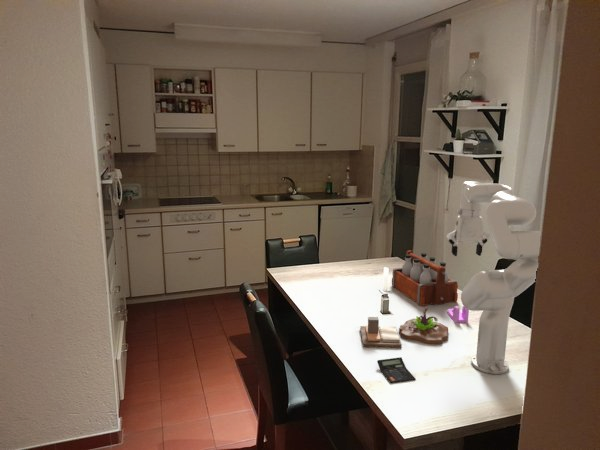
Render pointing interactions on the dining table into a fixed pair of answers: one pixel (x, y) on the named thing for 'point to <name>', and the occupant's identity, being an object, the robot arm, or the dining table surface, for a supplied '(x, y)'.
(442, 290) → the milk bottle holder
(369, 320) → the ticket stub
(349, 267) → the dining table surface
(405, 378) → the calculator
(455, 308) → the bracket
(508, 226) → the robot arm
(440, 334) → the plant
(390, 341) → the board
